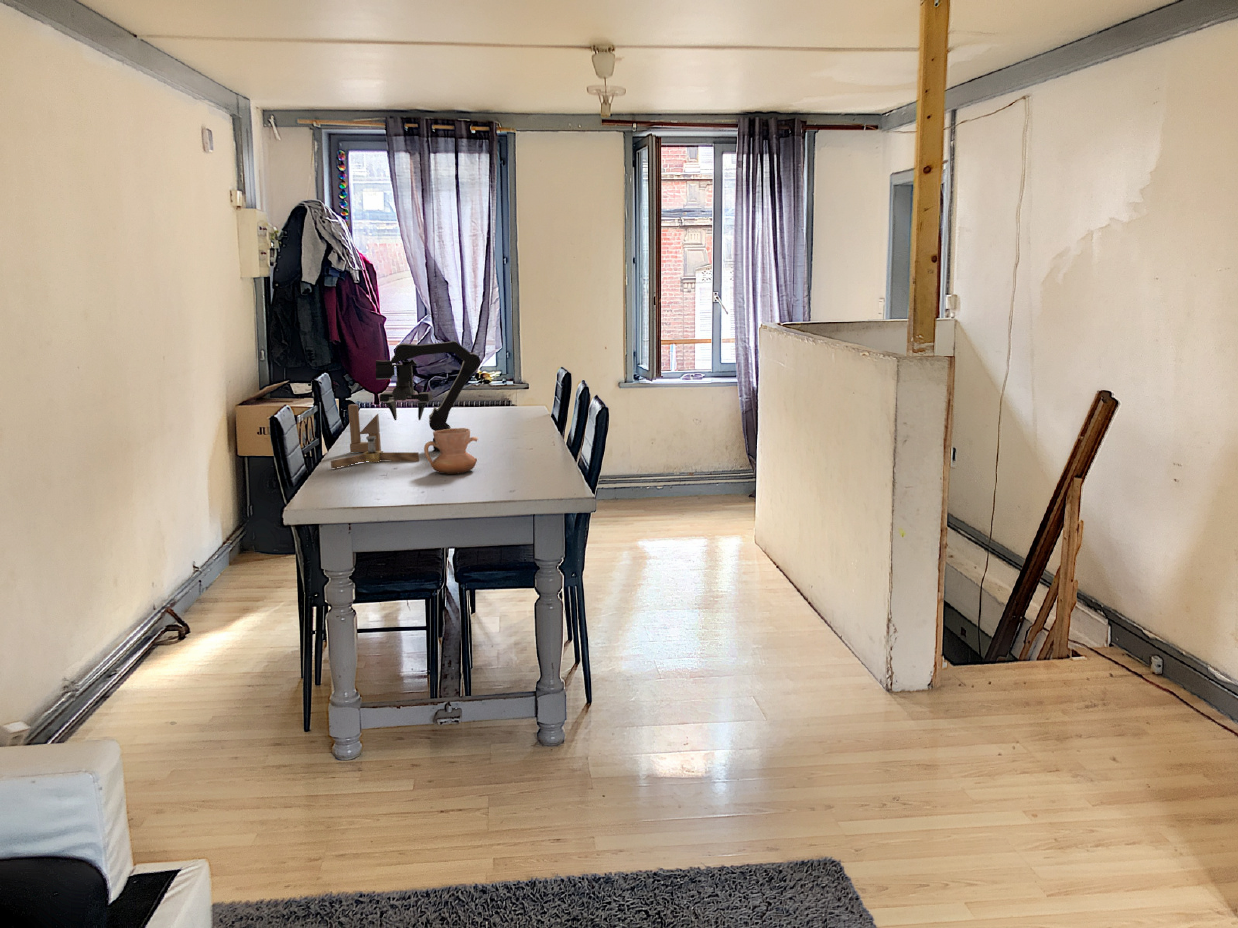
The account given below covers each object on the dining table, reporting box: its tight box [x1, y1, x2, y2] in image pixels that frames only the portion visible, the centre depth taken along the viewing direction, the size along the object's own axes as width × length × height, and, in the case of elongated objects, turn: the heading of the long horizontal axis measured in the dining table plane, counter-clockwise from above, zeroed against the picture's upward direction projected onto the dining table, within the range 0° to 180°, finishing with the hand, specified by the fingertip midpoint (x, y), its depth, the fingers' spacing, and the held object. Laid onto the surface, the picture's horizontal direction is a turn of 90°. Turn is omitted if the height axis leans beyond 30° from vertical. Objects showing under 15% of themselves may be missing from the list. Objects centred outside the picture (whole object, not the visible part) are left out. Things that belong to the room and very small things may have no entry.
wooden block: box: [347, 403, 382, 453], centre depth 381 cm, size 4×11×18 cm, turn 92°
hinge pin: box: [365, 435, 376, 454], centre depth 364 cm, size 3×3×9 cm
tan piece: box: [330, 450, 420, 468], centre depth 358 cm, size 26×18×3 cm
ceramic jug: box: [423, 427, 479, 475], centre depth 340 cm, size 18×14×14 cm
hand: (407, 420), depth 378 cm, fingers open, 9 cm apart
